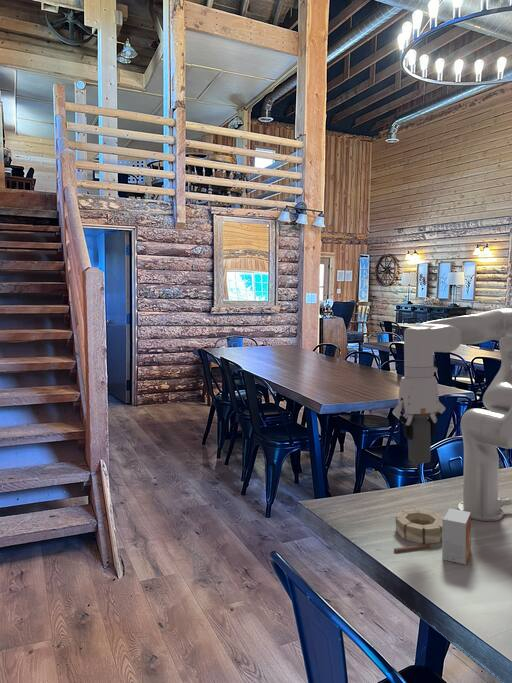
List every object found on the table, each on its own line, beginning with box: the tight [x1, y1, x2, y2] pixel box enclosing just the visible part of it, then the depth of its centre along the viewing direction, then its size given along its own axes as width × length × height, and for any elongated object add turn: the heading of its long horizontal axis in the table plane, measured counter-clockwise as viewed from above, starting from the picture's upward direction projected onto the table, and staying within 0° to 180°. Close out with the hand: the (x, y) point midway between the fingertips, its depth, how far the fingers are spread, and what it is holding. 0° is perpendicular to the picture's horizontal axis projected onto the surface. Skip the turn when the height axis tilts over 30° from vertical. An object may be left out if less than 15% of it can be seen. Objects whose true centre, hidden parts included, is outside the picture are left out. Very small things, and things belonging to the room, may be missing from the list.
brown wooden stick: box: [393, 543, 432, 554], centre depth 130 cm, size 10×1×1 cm, turn 102°
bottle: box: [407, 408, 432, 464], centre depth 138 cm, size 6×6×15 cm
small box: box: [441, 507, 472, 566], centre depth 127 cm, size 8×6×10 cm
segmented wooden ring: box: [395, 508, 444, 545], centre depth 140 cm, size 12×12×4 cm
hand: (419, 436), depth 138 cm, fingers closed on bottle, 5 cm apart
